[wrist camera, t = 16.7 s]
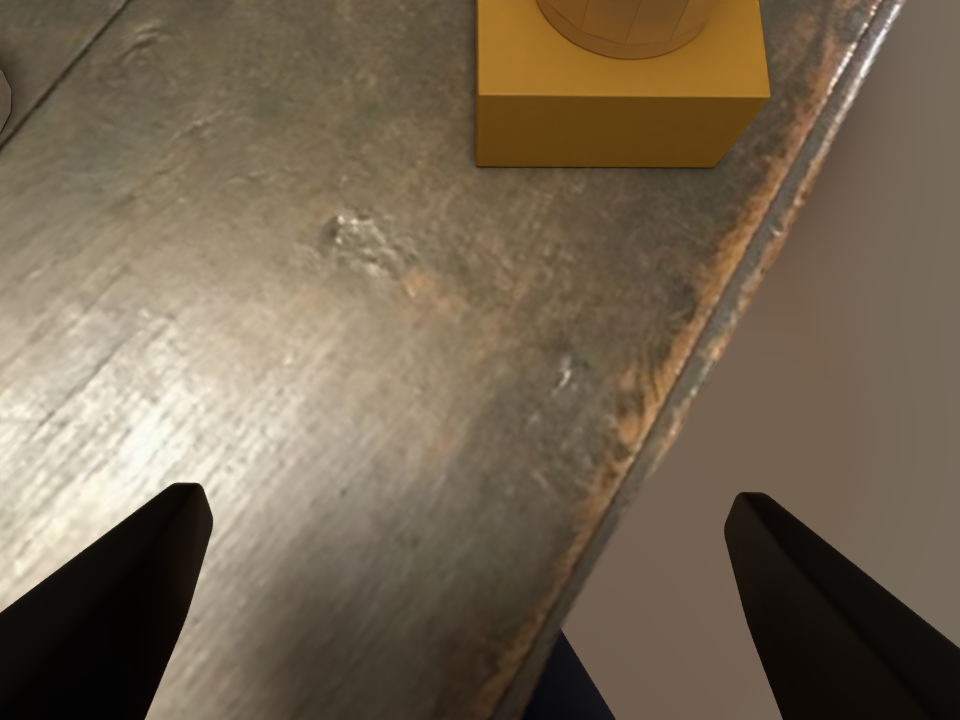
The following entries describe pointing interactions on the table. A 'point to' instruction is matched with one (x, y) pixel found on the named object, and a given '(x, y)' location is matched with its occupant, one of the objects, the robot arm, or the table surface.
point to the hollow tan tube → (629, 24)
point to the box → (613, 93)
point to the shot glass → (4, 100)
